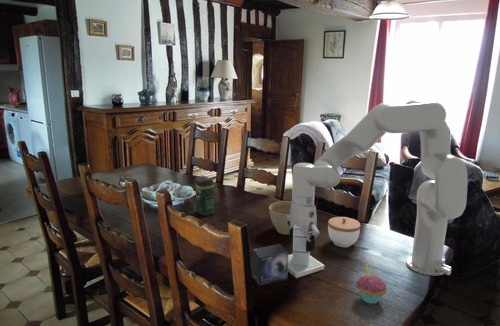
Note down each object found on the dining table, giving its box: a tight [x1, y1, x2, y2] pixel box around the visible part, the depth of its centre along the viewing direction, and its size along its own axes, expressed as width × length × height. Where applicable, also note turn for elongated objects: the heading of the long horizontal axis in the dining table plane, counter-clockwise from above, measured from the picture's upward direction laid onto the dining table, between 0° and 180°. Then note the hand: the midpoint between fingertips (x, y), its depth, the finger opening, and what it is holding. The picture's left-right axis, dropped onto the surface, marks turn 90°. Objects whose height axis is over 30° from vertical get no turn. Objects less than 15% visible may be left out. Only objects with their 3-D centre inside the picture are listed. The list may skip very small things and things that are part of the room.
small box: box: [251, 243, 290, 287], centre depth 116 cm, size 11×6×10 cm, turn 113°
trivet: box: [288, 253, 325, 279], centre depth 125 cm, size 12×12×2 cm
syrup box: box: [292, 224, 311, 266], centre depth 123 cm, size 6×6×14 cm
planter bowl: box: [268, 200, 292, 236], centre depth 153 cm, size 16×16×11 cm
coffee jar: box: [194, 175, 215, 216], centre depth 173 cm, size 10×8×19 cm
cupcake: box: [356, 261, 387, 305], centre depth 105 cm, size 9×8×12 cm
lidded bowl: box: [327, 216, 361, 248], centre depth 141 cm, size 13×13×11 cm
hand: (301, 245), depth 124 cm, fingers open, 9 cm apart
